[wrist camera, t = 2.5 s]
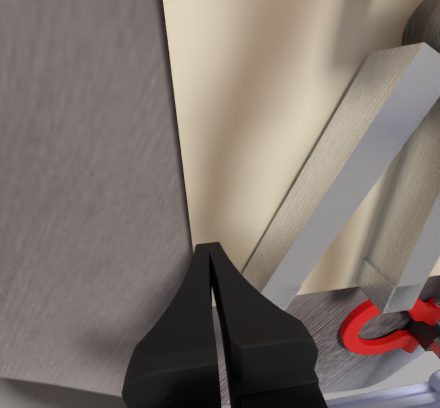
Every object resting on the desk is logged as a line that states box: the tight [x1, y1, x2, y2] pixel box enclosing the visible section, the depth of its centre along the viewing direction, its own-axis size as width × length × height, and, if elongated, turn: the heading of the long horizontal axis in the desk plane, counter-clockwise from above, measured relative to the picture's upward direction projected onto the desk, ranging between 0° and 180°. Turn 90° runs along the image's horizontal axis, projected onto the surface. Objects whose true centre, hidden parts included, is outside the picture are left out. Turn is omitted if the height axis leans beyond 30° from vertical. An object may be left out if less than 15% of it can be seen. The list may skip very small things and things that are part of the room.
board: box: [163, 0, 440, 307], centre depth 13 cm, size 20×22×1 cm
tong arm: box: [242, 42, 440, 311], centre depth 12 cm, size 2×14×3 cm, turn 157°
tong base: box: [355, 0, 440, 314], centre depth 12 cm, size 4×21×3 cm, turn 2°
